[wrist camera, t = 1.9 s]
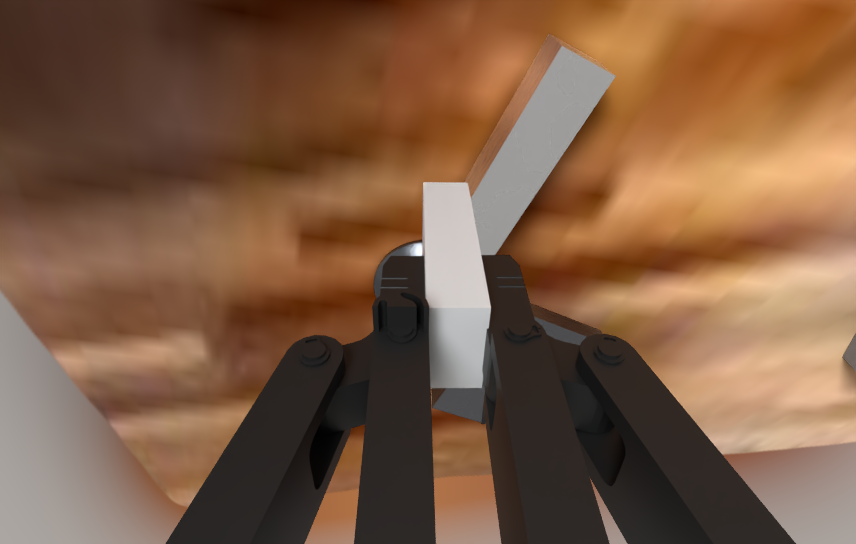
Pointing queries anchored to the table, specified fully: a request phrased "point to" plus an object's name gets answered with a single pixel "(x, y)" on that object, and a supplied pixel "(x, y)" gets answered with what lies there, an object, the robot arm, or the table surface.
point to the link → (532, 137)
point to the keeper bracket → (472, 399)
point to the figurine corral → (851, 354)
